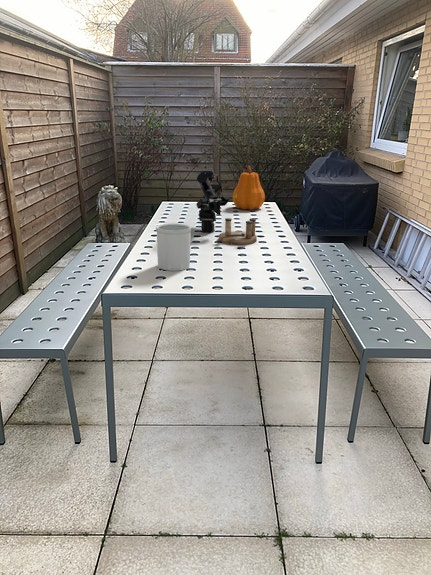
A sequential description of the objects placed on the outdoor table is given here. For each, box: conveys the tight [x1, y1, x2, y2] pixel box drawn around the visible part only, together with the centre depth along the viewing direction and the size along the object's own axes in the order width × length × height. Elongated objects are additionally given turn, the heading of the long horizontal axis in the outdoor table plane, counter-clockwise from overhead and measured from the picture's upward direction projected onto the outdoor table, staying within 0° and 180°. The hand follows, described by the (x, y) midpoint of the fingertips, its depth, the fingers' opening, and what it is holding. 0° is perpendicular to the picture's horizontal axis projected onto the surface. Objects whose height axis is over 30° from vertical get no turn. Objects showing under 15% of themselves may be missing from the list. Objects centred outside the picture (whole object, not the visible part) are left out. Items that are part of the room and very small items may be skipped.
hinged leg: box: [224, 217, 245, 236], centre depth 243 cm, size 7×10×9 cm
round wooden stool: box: [218, 218, 258, 246], centre depth 245 cm, size 20×20×11 cm
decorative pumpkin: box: [232, 164, 266, 211], centre depth 332 cm, size 24×24×30 cm
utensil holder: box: [155, 222, 192, 272], centre depth 198 cm, size 15×15×18 cm
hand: (219, 214), depth 246 cm, fingers closed
